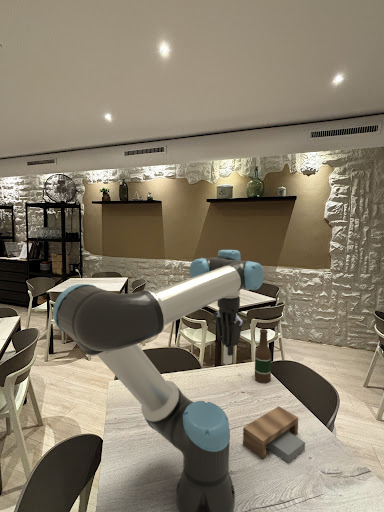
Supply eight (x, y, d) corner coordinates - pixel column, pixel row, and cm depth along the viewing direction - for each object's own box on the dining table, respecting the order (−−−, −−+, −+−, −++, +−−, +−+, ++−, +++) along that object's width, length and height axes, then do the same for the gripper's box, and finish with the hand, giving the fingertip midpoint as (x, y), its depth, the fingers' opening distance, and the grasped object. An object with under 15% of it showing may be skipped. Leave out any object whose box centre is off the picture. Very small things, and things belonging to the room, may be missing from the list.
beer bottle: (267, 385, 132) (269, 333, 130) (251, 380, 136) (252, 330, 134) (273, 378, 138) (274, 329, 136) (257, 373, 142) (258, 326, 140)
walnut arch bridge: (262, 459, 89) (263, 441, 88) (242, 444, 95) (243, 427, 95) (297, 433, 100) (298, 417, 100) (278, 421, 107) (278, 406, 106)
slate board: (287, 464, 87) (288, 455, 87) (259, 443, 96) (259, 434, 96) (304, 451, 93) (305, 442, 92) (275, 432, 101) (276, 424, 101)
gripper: (250, 297, 95) (249, 367, 97) (224, 291, 105) (223, 353, 107) (233, 301, 90) (232, 373, 92) (208, 293, 101) (207, 359, 103)
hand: (227, 363), depth 100 cm, fingers closed
